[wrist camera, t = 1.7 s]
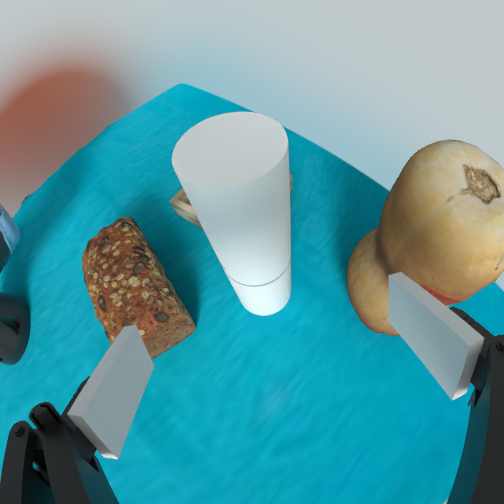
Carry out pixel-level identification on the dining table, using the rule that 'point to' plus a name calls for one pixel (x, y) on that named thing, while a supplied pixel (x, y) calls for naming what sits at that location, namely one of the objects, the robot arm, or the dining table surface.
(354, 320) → the dining table surface
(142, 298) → the bread
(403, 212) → the butternut squash
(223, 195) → the cylindrical container
